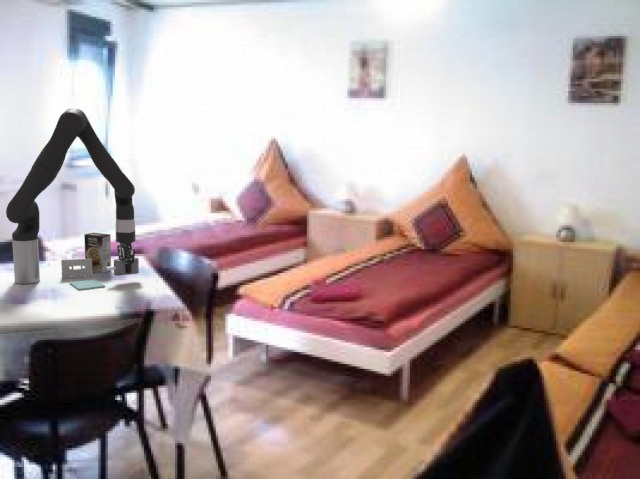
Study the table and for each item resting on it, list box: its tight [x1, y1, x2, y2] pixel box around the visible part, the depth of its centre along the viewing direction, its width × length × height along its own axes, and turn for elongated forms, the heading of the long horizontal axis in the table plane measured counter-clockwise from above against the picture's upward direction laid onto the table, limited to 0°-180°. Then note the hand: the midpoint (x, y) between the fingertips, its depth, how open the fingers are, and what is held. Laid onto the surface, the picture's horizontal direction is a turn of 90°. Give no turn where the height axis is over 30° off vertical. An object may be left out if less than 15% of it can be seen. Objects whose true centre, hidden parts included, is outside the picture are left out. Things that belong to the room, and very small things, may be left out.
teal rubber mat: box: [69, 278, 106, 291], centre depth 259 cm, size 12×10×1 cm
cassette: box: [60, 258, 94, 279], centre depth 271 cm, size 12×2×8 cm, turn 108°
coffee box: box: [84, 232, 112, 274], centre depth 283 cm, size 9×6×16 cm
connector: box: [106, 256, 140, 277], centre depth 264 cm, size 4×13×6 cm, turn 127°
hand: (126, 271), depth 265 cm, fingers closed on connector, 4 cm apart
